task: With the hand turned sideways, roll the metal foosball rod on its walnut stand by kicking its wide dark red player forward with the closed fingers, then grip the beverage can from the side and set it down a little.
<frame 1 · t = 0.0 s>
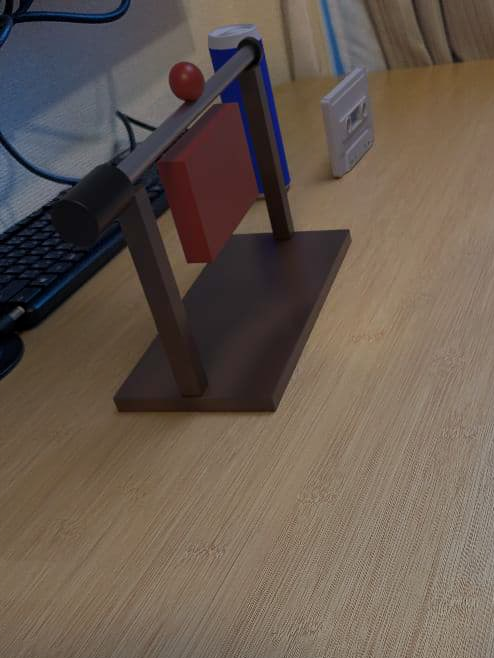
rod stand: (249, 316, 68), on the table
cassette: (355, 159, 92), on the table
foosball rod: (193, 162, 57), point 13 cm above the table, hinge at 0.0°
beverage can: (268, 191, 88), on the table
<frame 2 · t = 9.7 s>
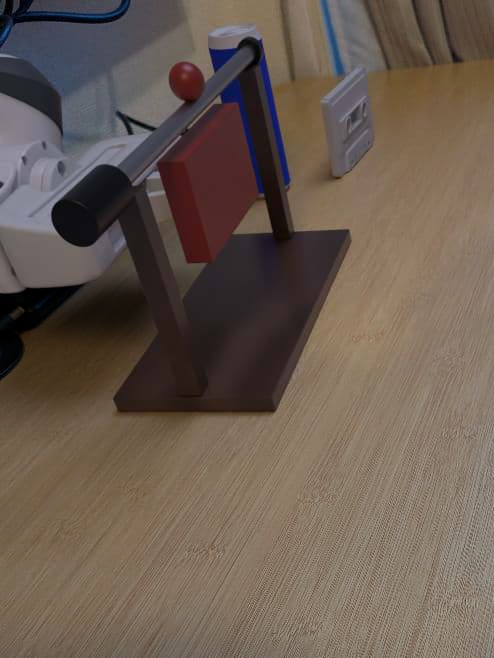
hand: (203, 195, 61), 10 cm above the table, tool horizontal, fingers closed, pressing on foosball rod
foosball rod: (193, 162, 57), point 13 cm above the table, hinge at 0.0°, touching gripper
everything else where it was.
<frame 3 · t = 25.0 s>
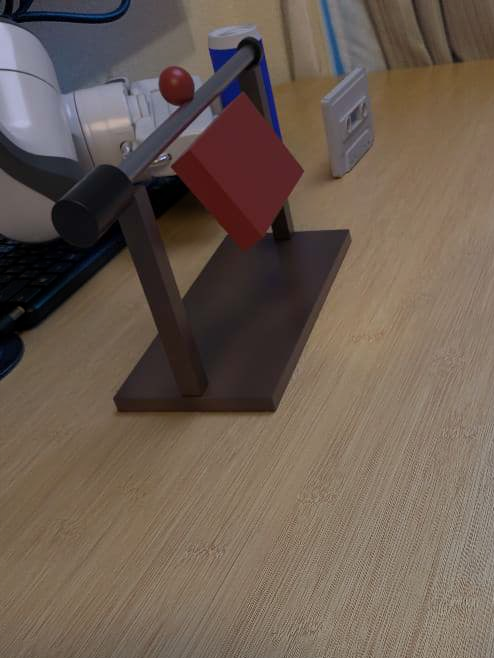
hand: (258, 107, 83), 8 cm above the table, tool horizontal, fingers closed on beverage can, 5 cm apart
foosball rod: (211, 155, 57), point 14 cm above the table, hinge at 30.6°
beverage can: (268, 191, 88), on the table, touching gripper
everything else where it was.
when the fingers open (8 cm above the table, at t = 31.0 s): beverage can stays where it is, on the table.
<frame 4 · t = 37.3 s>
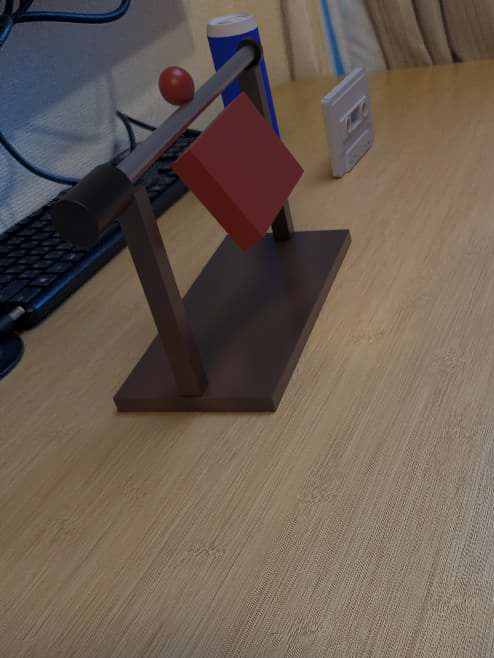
beverage can: (264, 175, 92), on the table
everything else where it was.
at the end: foosball rod at +31° (first picture: +0°); beverage can 0.3 cm from the target spot, on the table; beverage can tilted 0° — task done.
